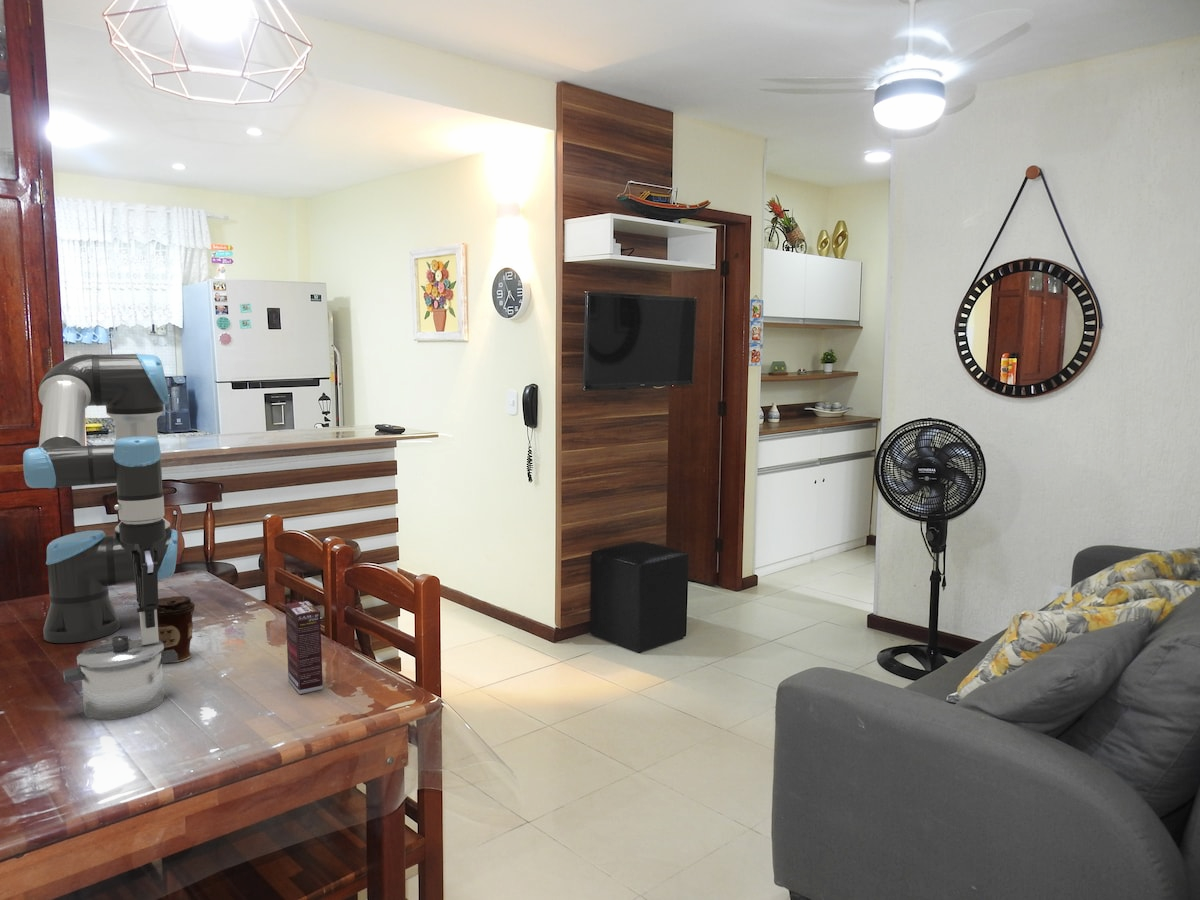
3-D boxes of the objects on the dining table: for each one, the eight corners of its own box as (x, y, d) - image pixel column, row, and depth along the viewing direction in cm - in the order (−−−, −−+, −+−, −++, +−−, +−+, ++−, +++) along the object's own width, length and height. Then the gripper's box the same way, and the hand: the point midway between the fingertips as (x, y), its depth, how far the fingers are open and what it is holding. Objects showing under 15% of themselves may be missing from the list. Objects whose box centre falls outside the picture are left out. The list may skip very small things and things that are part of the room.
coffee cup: (177, 667, 175) (173, 607, 173) (142, 664, 176) (138, 604, 175) (205, 652, 183) (201, 595, 181) (171, 650, 185) (168, 592, 183)
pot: (63, 702, 157) (59, 656, 156) (170, 679, 168) (167, 636, 167) (71, 730, 146) (67, 680, 145) (185, 703, 157) (182, 657, 156)
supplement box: (324, 689, 163) (321, 610, 162) (299, 695, 161) (295, 615, 159) (312, 675, 171) (308, 599, 169) (287, 680, 168) (284, 603, 166)
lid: (72, 654, 158) (71, 636, 157) (155, 638, 166) (154, 621, 166) (81, 674, 146) (79, 654, 145) (170, 656, 154) (168, 638, 154)
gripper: (114, 516, 159) (122, 637, 162) (124, 528, 149) (133, 656, 151) (158, 512, 164) (165, 629, 166) (171, 523, 153) (178, 647, 156)
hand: (150, 642), depth 159 cm, fingers closed
